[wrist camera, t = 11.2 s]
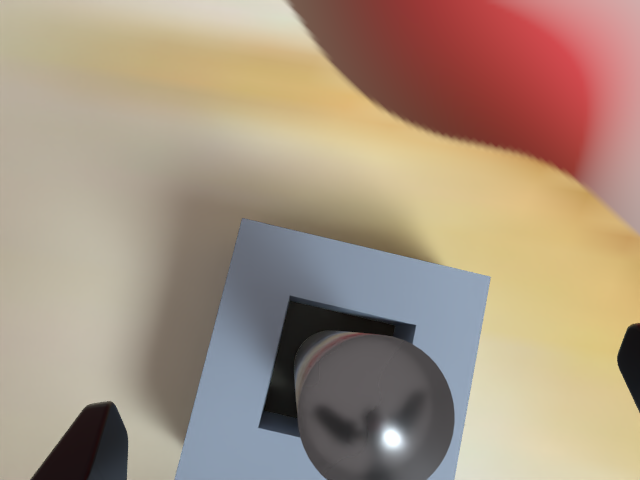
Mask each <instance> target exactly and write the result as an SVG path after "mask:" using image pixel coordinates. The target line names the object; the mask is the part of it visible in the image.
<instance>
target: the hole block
mask: <svg viewBox="0 0 640 480" xmlns="http://www.w3.org/2000/svg"><path fill="white" fill-rule="evenodd" d="M490 278H491V277H489V276H485V275H481V274H477V273H473V272H468V271H464V270H460V269H456V268H451V267H447V266H443V265H439V264H434V263H430V262H426V261H422V260H418V259H413V258H409V257H405V256H401V255H396V254H392V253H388V252H384V251H380V250H375V249H371V248H367V247H363V246H358V245H354V244H350V243H346V242H341V241H337V240H333V239H329V238H325V237H320V236H316V235H312V234H308V233H303V232H299V231H295V230H291V229H287V228H282V227H278V226H274V225H270V224H265V223H261V222H257V221H253V220H248V219H244V218H242V221H241V225H240V229H239V232H238V236H237V240H236V244H235V248H234V252H233V256H232V259H231V263H230V267H229V271H228V275H227V279H226V283H225V287H224V290H223V294H222V298H221V302H220V306H219V310H218V314H217V317H216V321H215V325H214V329H213V333H212V337H211V341H210V344H209V348H208V352H207V356H206V360H205V364H204V368H203V372H202V375H201V379H200V383H199V387H198V391H197V395H196V399H195V402H194V406H193V410H192V414H191V418H190V422H189V426H188V429H187V433H186V437H185V441H184V445H183V449H182V453H181V457H180V460H179V464H178V468H177V472H176V476H175V480H327V479H325V478H324V477H323V476H322V475H321V474H320V473H319V471H318V470H317V469H316V468H315V467H314V465H313V464H312V462H311V461H310V459H309V458H308V456H307V453H306V451H305V449H304V447H303V444H302V441H301V438H300V433H299V428H298V418H294V417H290V416H285V415H281V414H277V413H272V412H268V411H264V407H265V403H266V398H267V394H268V390H269V386H270V382H271V377H272V373H273V369H274V365H275V361H276V357H277V352H278V348H279V344H280V340H281V336H282V331H283V327H284V323H285V319H286V315H287V310H288V306H289V302H290V301H292V302H296V303H301V304H305V305H309V306H314V307H318V308H322V309H326V310H331V311H335V312H339V313H343V314H348V315H352V316H356V317H360V318H365V319H369V320H373V321H378V322H382V323H386V324H390V325H395V328H394V333H393V337H396V338H399V339H402V340H405V341H407V342H409V343H411V344H413V345H415V346H416V347H418V348H419V349H421V350H422V351H423V352H425V353H426V354H427V355H428V356H429V357H430V358H431V359H432V360H433V361H434V362H435V363H436V364H437V366H438V367H439V369H440V370H441V372H442V373H443V375H444V377H445V379H446V381H447V383H448V385H449V388H450V391H451V394H452V398H453V403H454V411H455V424H454V431H453V436H452V440H451V444H450V446H449V449H448V451H447V454H446V455H445V457H444V459H443V461H442V462H441V464H440V465H439V467H438V468H437V469H436V471H435V472H434V473H433V474H432V475H431V476H430V477H429V478H428V479H427V480H454V478H455V472H456V467H457V461H458V456H459V450H460V445H461V439H462V434H463V428H464V422H465V417H466V411H467V406H468V400H469V395H470V389H471V384H472V378H473V372H474V367H475V361H476V356H477V350H478V345H479V339H480V334H481V328H482V322H483V317H484V311H485V306H486V300H487V295H488V289H489V284H490Z"/></svg>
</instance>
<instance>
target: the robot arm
mask: <svg viewBox="0 0 640 480" xmlns="http://www.w3.org/2000/svg"><path fill="white" fill-rule="evenodd" d="M617 361H618V366H619V369H620V372H621V374H622V376H623V378H624V380H625V382H626V384H627V387H628V389H629V391H630V393H631V395H632V397H633V399H634V402H635V404H636V406H637V408H638V410H639V412H640V323H636V324H632V325H630V326H629V327H628V329H627V331H626V333H625V336H624V339H623V341H622V344H621V347H620V349H619V352H618V356H617ZM127 460H128V435H127V431H126V428H125V426H124V424H123V421H122V419H121V417H120V414H119V412H118V410H117V408H116V406H115V404H114V403H113V402H111V401H107V402H100V403H93V404H89V405H87V406H86V407H85V408H84V409H83V410H82V412H81V413H80V414H79V416H78V417H77V418H76V420H75V421H74V422H73V424H72V425H71V426H70V428H69V429H68V430H67V432H66V433H65V434H64V436H63V437H62V438H61V440H60V441H59V442H58V444H57V445H56V446H55V448H54V449H53V450H52V452H51V453H50V454H49V456H48V457H47V458H46V460H45V461H44V462H43V464H42V465H41V466H40V468H39V469H38V470H37V472H36V473H35V474H34V476H33V477H32V478H31V480H127Z"/></svg>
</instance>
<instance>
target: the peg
mask: <svg viewBox="0 0 640 480" xmlns="http://www.w3.org/2000/svg"><path fill="white" fill-rule="evenodd" d="M294 379H295V392H296V404H297V416H298V428H299V433H300V438H301V441H302V444H303V447H304V449H305V451H306V453H307V456H308V458H309V459H310V461H311V462H312V464H313V465H314V467H315V468H316V469H317V470H318V471H319V473H320V474H321V475H322V476H323V477H324V478H325V479H327V480H427V479H428V478H429V477H430V476H431V475H432V474H433V473H434V472H435V471H436V469H437V468H438V467H439V465H440V464H441V462H442V461H443V459H444V457H445V455H446V454H447V451H448V449H449V446H450V444H451V440H452V436H453V431H454V424H455V411H454V403H453V398H452V394H451V391H450V388H449V385H448V383H447V381H446V379H445V377H444V375H443V373H442V372H441V370H440V369H439V367H438V366H437V364H436V363H435V362H434V361H433V360H432V359H431V358H430V357H429V356H428V355H427V354H426V353H425V352H423V351H422V350H421V349H419V348H418V347H416V346H415V345H413V344H411V343H409V342H407V341H405V340H402V339H399V338H396V337H392V336H387V335H378V334H368V333H357V332H346V331H335V330H326V331H321V332H318V333H315V334H313V335H311V336H310V337H309V338H307V339H306V340H305V341H304V342H303V343H302V345H301V346H300V347H299V349H298V351H297V353H296V356H295V360H294Z"/></svg>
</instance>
